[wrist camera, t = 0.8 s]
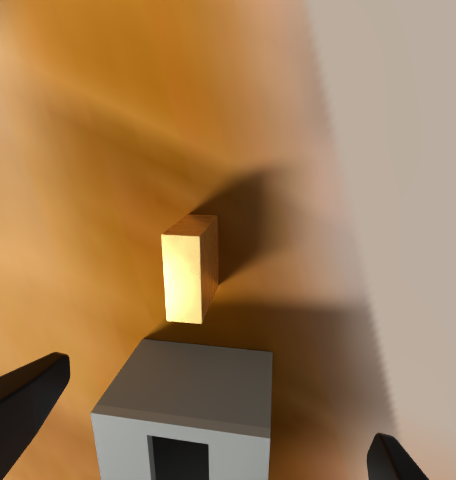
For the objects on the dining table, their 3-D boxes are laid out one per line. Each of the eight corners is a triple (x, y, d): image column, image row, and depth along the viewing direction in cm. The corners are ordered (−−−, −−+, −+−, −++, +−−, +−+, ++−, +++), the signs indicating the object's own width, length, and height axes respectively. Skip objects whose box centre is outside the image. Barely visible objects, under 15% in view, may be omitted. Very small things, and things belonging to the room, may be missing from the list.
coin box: (150, 428, 26) (108, 523, 20) (142, 338, 24) (90, 412, 17) (267, 445, 25) (263, 554, 18) (272, 352, 22) (270, 438, 16)
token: (190, 282, 22) (166, 320, 17) (188, 214, 20) (161, 234, 16) (218, 284, 22) (201, 324, 17) (218, 215, 20) (199, 236, 15)
